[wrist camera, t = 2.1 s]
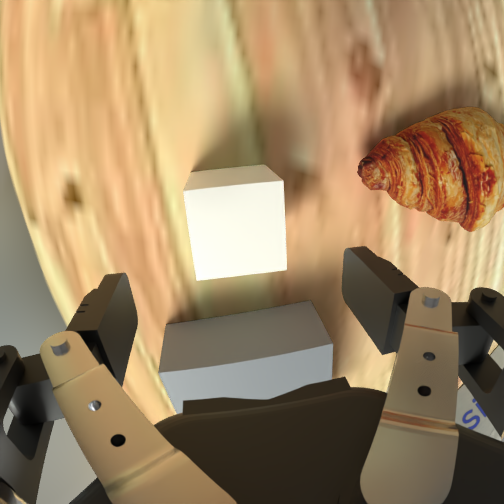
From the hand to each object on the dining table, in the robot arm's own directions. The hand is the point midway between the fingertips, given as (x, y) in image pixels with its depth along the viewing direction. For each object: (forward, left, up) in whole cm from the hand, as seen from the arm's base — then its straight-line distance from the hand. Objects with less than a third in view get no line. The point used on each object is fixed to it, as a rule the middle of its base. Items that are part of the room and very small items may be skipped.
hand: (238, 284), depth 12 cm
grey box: (0, +15, -12) cm, 19 cm away
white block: (0, 0, -12) cm, 12 cm away
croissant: (-19, -2, -12) cm, 23 cm away
